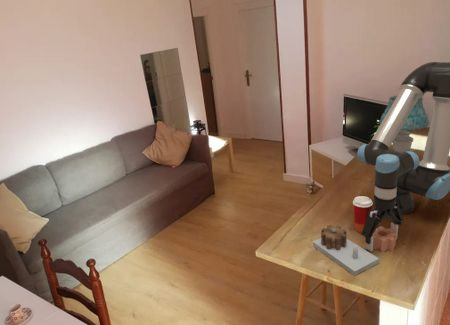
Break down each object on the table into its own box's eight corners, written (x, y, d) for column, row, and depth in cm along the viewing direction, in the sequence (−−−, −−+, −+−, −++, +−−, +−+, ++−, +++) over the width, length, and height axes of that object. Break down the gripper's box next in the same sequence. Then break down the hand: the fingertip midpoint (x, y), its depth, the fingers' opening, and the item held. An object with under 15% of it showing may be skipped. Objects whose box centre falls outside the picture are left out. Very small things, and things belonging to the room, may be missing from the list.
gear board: (335, 235, 144) (335, 221, 141) (378, 263, 125) (379, 247, 123) (312, 245, 139) (312, 231, 137) (354, 275, 121) (355, 259, 118)
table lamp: (432, 173, 185) (441, 100, 170) (387, 177, 187) (392, 105, 172) (411, 157, 207) (417, 91, 193) (371, 161, 209) (374, 96, 194)
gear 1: (334, 233, 142) (334, 220, 140) (351, 244, 134) (352, 230, 132) (316, 241, 138) (316, 228, 136) (333, 253, 130) (333, 239, 128)
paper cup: (366, 222, 150) (368, 194, 144) (374, 232, 142) (376, 203, 137) (349, 225, 150) (349, 196, 144) (356, 235, 142) (356, 205, 137)
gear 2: (380, 234, 141) (381, 223, 139) (401, 245, 133) (402, 234, 131) (363, 242, 137) (363, 232, 135) (383, 254, 129) (384, 243, 127)
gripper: (399, 182, 135) (395, 228, 143) (352, 201, 125) (350, 250, 133) (416, 189, 129) (411, 237, 136) (368, 209, 119) (366, 260, 127)
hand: (381, 243), depth 135 cm, fingers open, 13 cm apart
